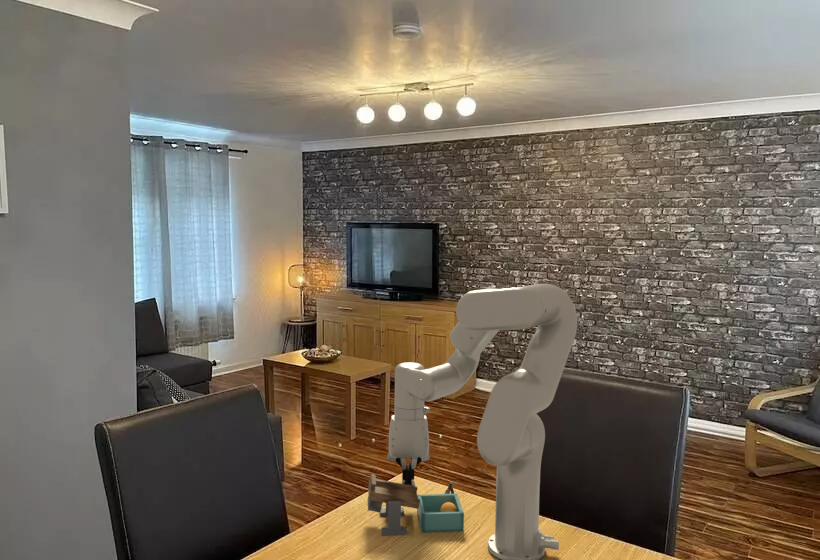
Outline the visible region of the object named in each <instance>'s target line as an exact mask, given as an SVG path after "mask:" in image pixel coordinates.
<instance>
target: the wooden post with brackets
mask: <svg viewBox="0 0 820 560" xmlns="http://www.w3.org/2000/svg"><path fill="white" fill-rule="evenodd" d="M454 487H455V485H454V481H450V482H449V483H448V487H447V488H446V489H445V491H444V493H443V494H455V490H454Z"/></svg>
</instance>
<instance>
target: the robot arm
mask: <svg viewBox="0 0 820 560" xmlns="http://www.w3.org/2000/svg"><path fill="white" fill-rule="evenodd" d="M455 308H456V310H455V313H456V318H457V319H456V320H457V321H458V322H457V323H456V324H455V326H453V328H452V330H451V331H450V334H449V340H450V342H451V344H452V346H453V347H454V351H453V353H452V354H451V355H450V356H449V357H448V359H447V360H446V361H445V362H444V363H443V364H440V365H436V366H433V367H429V368H425V367H424V365H422V364H421V363H418V362H413V361H410V362H409V361H408V362H407V361H406V362H401V363H399V364H397V365H395V366H396V367H395V369H394V410H393V411H394V414H392V415H391V418H390V422H389V429H388V430H389V431H388V446H387V447H388V453H387V460H388V461H389V462H393V463H397V464H398V465H399V466H400V467H401V470H402V471H401V478H402V480H405V485H408V482H409V484H410V485H412V480H414V481H415V470H416V468H417V466H419V464H421V463H422V462H425V461H429V460H430V454H429V453H430V435H429V426H428V425H429V423H428V418H427V415H426V414H429V413H430V414H431V408H430V407H429V406H428V407H427V406H426V405H425V402H431V401H436V400H438V399H441V398H443V397H446V396H449V395H452V394H455V393H456V392H458V391H459V390H460V389H462V388H463V387H464V385H466V383H467V382H468V381H469V379H470V378H471V377H472V376H473V374H474V373H475V372H476V370H477V368H478V365H479V362H480V358H481V354H482V353H483V352H484V350H485V349H486V348H487V346H488V345H489V343H490V342H491V341H492V339H494V337H495V336H497V334H498V332H500V331H510V330H511V331H512V330H514V331H515V330H524V329H529V328H533V327H537V328H536V330H535V333H534V335H532V338H531V339H530V341H529V343H528V345H527V347H526V350H525V355H524V357H523V360H522V362H521V363H520V367H519V368H518V369H517V370H515V371H514V372H511V373H509V374H506V375H504V376H502V377H501V378H499V380H498V381H497V382H496V383H495V384H494V386H493V387H492V390H491V391H490V394H489V397H488V399H487V402H486V404H485V405H486V406H485V408H484V412H483V415H482V417H481V421H480V424H479V426H478V431H477V435H476V445H477V449H478V452H479V455H480V456H481V458H482V459H483V461H485V462H486V463H487V464H489V465H491V466H495V467H496V479H495V481H496V483H495V525H494V526H495V528H494V529H495V530H494V533H493V534H491V536H490V537H489V538H488V540H487V549H488V551H489V552H490V553H491V554H492V555H493V556H494V557H496V558H497V559H500V560H540V559H542V558H543V556H545V554H546V549H550V550H556V551H559V547H560V542H559V540H557V539H554V538H555V536H554V535H551V534H544V533H543V532H541V526H539V523H540V522H539V519H540V518H539V517H540V490H541V489H540V485H541V468H542V465H541V464H542V457H543V452H544V447H545V441H546V431H545V430H546V429H545V426H544V423H543V422H544V421H542V419H541V417H540V416H539V415H538V413H540V412H541V411H544V410H546V409H547V408H548V407H549V406H550V405H551V404H552V402H553V401H554V398H555V395H556V392H557V390H558V387H559V383H560V381H561V378H562V375H563V373H564V370H565V366H566V362H567V360H568V357H569V354H570V352H571V349H572V346H573V344H574V342H575V338H576V335H577V331H578V314H577V309H576V307H575V305H574V302H573V300H572V298H571V297H570V296H569V295H568V293H567V292H566V291H565V290H564V289H562V288H560V287H559V286H556V285H554V284H551V283H538V284H537V283H535V284H532V285H525V286H518V287H517V286H516V287H510V288H496V287H495V288H494V287H491V288H490V287H487V288H481V289H475V290H470V291H468V292H466V293H465V294H463V295H462V296H461V297H460V298H459V300H458V302H457V304H456V307H455ZM406 458H407V459H410V461H409V464H408V463H407V460H406ZM402 480H401V481H402Z"/></svg>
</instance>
